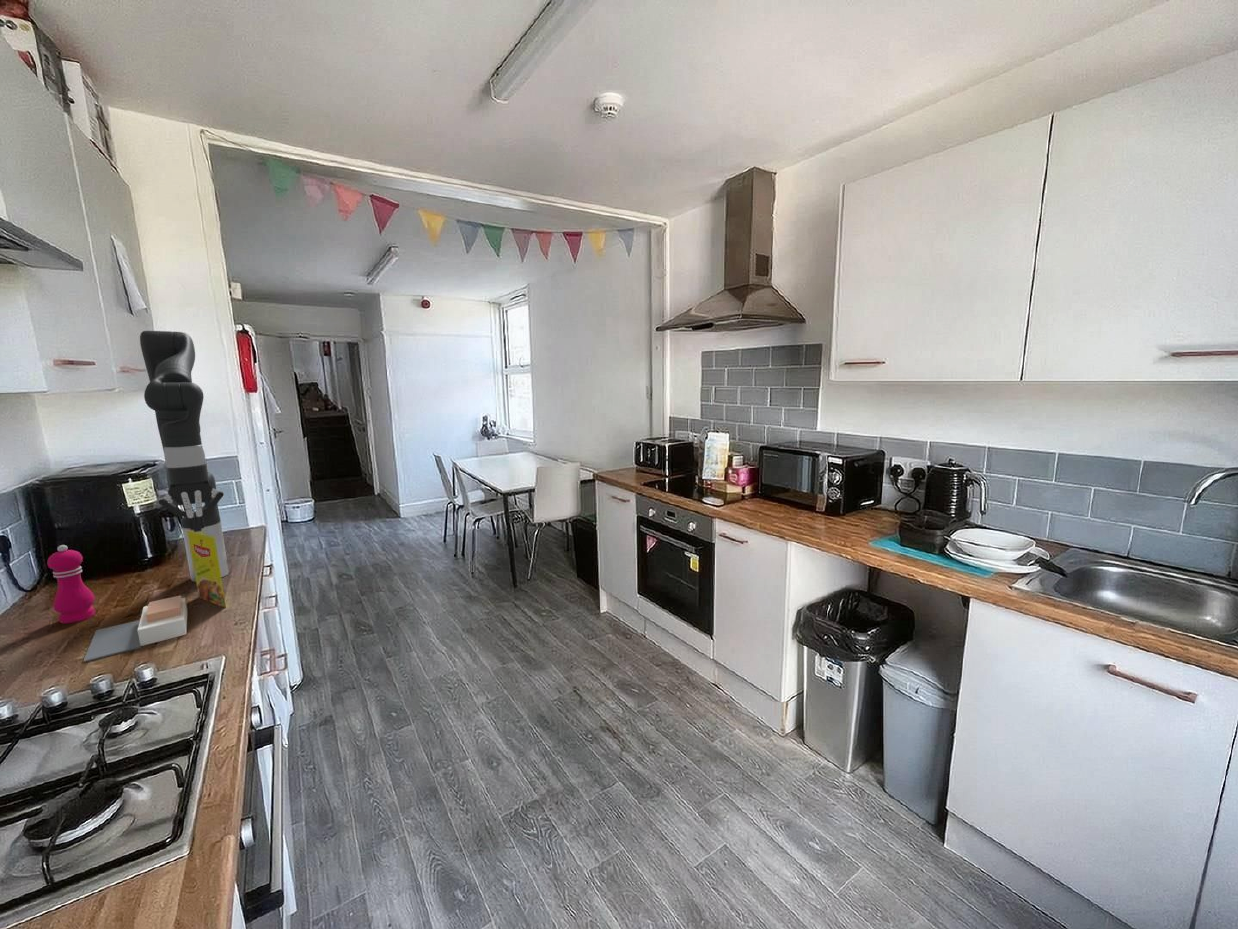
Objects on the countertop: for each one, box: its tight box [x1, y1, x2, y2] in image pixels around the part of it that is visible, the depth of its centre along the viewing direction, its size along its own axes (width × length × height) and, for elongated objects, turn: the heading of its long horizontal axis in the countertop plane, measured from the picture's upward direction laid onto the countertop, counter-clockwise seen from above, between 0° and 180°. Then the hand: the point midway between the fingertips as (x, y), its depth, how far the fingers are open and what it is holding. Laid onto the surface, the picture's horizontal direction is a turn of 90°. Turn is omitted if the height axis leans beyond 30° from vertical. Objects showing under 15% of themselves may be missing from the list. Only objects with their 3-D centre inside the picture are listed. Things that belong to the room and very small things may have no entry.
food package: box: [187, 530, 227, 608], centre depth 134 cm, size 15×1×20 cm, turn 62°
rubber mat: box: [82, 619, 142, 664], centre depth 116 cm, size 18×9×1 cm, turn 40°
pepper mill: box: [46, 544, 96, 624], centre depth 126 cm, size 7×7×20 cm
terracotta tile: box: [146, 594, 183, 622], centre depth 121 cm, size 9×6×2 cm, turn 40°
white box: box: [138, 597, 188, 647], centre depth 121 cm, size 16×8×4 cm, turn 40°
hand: (197, 530), depth 124 cm, fingers closed
